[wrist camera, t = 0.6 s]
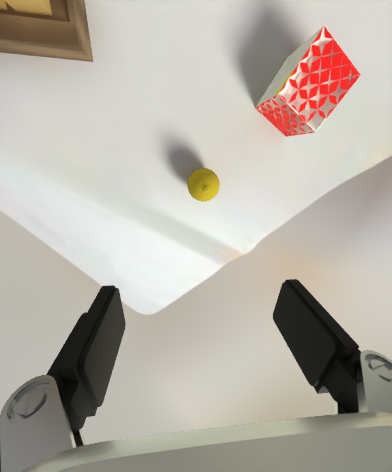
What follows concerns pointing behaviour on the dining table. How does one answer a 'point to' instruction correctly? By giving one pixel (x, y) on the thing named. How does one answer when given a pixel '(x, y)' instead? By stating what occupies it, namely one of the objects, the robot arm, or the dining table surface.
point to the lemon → (203, 184)
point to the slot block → (47, 32)
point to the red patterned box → (308, 86)
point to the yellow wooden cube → (3, 5)
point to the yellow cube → (31, 6)
